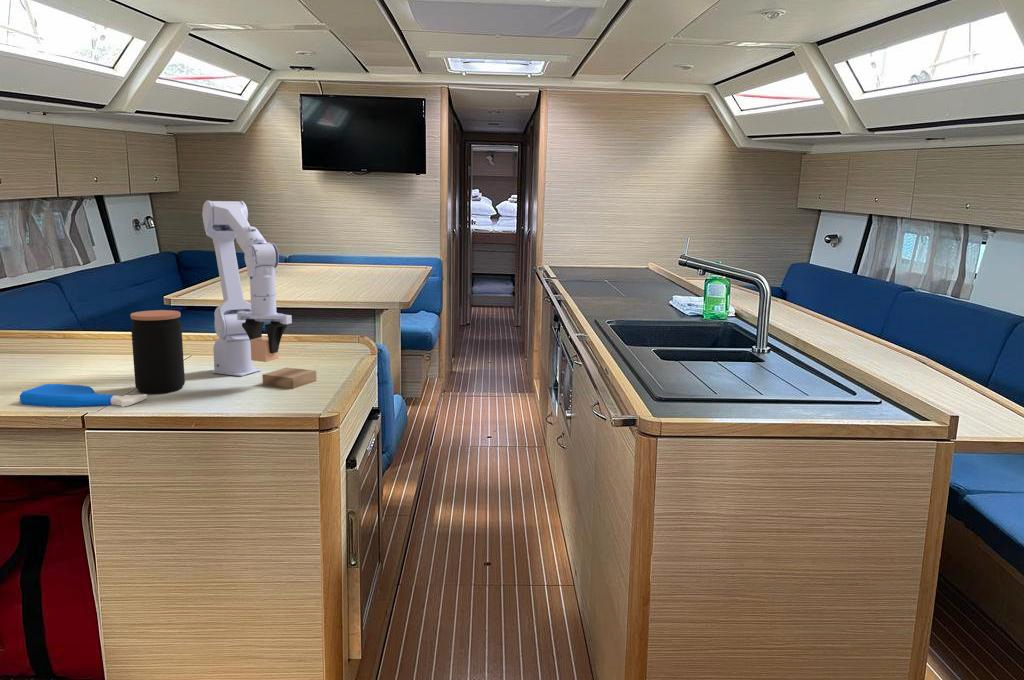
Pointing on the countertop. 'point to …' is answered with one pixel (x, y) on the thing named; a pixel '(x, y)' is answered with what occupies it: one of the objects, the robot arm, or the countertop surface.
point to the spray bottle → (74, 396)
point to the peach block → (261, 350)
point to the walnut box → (289, 378)
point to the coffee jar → (157, 351)
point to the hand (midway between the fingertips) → (265, 351)
